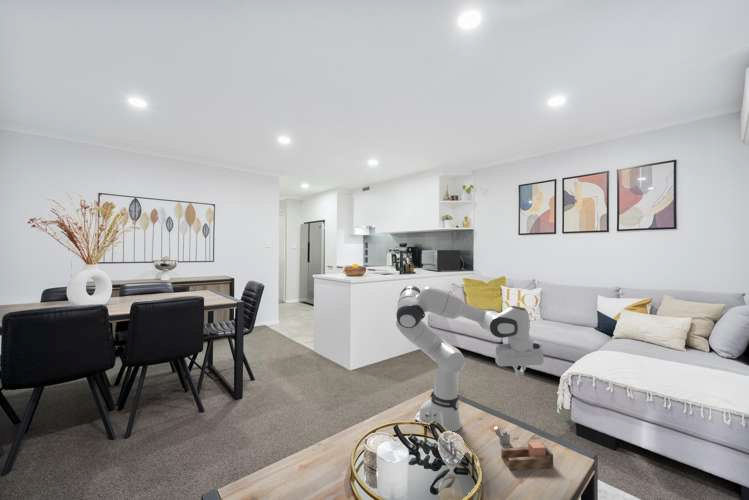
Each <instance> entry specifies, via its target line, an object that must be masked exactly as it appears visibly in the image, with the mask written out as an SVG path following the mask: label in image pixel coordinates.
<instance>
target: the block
mask: <svg viewBox="0 0 749 500" xmlns="http://www.w3.org/2000/svg"><path fill="white" fill-rule="evenodd" d="M527 443H528V444H527V445H528V446H527V447H528V455H529V457H533V456H546V447H547V446H546V445H545V444H544V443H543V442H541V441H534V442H533V441H531V442H527ZM542 443H543V444H544V445H545V446H546V447H545V446H544V445H543V444H542Z"/></svg>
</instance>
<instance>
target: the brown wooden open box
mask: <svg viewBox="0 0 749 500" xmlns="http://www.w3.org/2000/svg"><path fill="white" fill-rule="evenodd" d="M541 443H542V444H543V445H544V446H545V447H546V456H533V457H529V455H528V446H523V447H521V446H520V447H504V448H503V447H502V448H501V449H500V450H501V459H502V461H503V463H504V464H505V466H506V467H507V468H508V470H509V471H511V472H515V471H529V470H532V471H533V470H546V469H547V470H548V469H550V470H551V469H554V453H553V452H551V450H549V448H547V446H546V445H545V444H544V442H541Z"/></svg>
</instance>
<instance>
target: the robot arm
mask: <svg viewBox="0 0 749 500" xmlns="http://www.w3.org/2000/svg"><path fill="white" fill-rule="evenodd" d="M427 312H429V313H433V314H435V315H438V316H440V317H442V318H446V319H449V320H450V319H452V320H456V319H458V318H459V317H462V318H465V319H466V320H467V319H468V320H470V321H473V322H475V323H478V324H479V325H480V327H482V328H483V330H486V331H487V332H489V333H490V334H491V335H493V336H494V337H496V338H500V339H501V338H502V339H503V338H507V343H504V344H502V343H501V344H498V345H496V346H495V359H494V360H495V363H496V364H497V365H498V366H499V367H512V368H513V369H514V374H515V375H516V376H518V377H519V376H524V375H525V370H526V369H527V366H541V365H543V363H545V362H544V360H545V359H544V351H543V350H542V349H543V345H542V344H541V343H540V342H538V341H536V340H534V339H531V335H530V328H531V324H530V323H531V322H530V315H529V311H528V310H527V309H526V308H524V307H521V306H516V305H509V306H508V308H507V309H505V310H503V311H501V312H498V311H497V310H494V309H491V308H490V309H488V308H486V309H483V308H479V307H476V306H473V305H471V304H468V303H466V302H464V300H463V299H462V298H460V297H459V296H457V295H456V294H455V293H452V292H450V291H447V290H444V289H442V288H438V287H433V286H425V287H423V288H422V289H419V287H417V286H415V285H414V286H413V285H408V286H405V287H404V288H403V289H402V290H401V292H400V293H399V297H398V302H397V309H396V313H395V314H396V321H395V326H396V328H397V329H398V331H399V332H400V333H401V334H402V335H403V336H404V337H405V338H406V339H407V340H408V341H410V342H411V343H412V344H413V345H415V346H416V347H417V348H418V349H419V350H421V351H422V352H423V353H424V354H426V355H427V356H428V357H429V358H431V360H432V361H434V362H435V363H436V364H437V365H438V369H437V373H436V375H435V376H434V378H433V382H434V383H433V385H434V386H433V387H434V388H433V390H432V392H431V393H430V394H429V398H430V399H427V400H426V401H424V402H423V403H422V405H421V406H420V409H419V411H418V412H417V413H416V414H415V417H414V421H415V420H417V421H421V422H426V423H430V422H431V421H432V420H436V421H437V422H439V423H440V424H441V425H442V426H443V427H445V428H446V429H447V430H450V431H453V432H457V431H459V430H460V429H461V428H462V425H463V424H462V420H461V417H460V411H459V408H460V407H459V406H460V398H459V394H458V392H459V391H458V389H459V387H458V381H459V375H460V372H461V371H462V370H464V368H465V366H466V358H465V355H463V353H462V352H461V351H460V349H458V348H457V347H455V346H454V345H453V344H450V343H449V342H447V341H446V340H445V339H444V338H442V336H440V335H439V334H438V333H437V332H436V331H435V330H434V329H433V328H432V327H431V326H430V325H428V324H427V323H426V322H425V321H423V319H424V318H425V317H426V313H427ZM519 367H520V369H518V368H519ZM417 421H416V422H417Z"/></svg>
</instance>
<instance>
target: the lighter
mask: <svg viewBox="0 0 749 500" xmlns="http://www.w3.org/2000/svg"><path fill="white" fill-rule="evenodd" d="M493 430H494V432H495V435H496V436H497V437H499V444H500V445H501V446H507V445H510V444H511V439H510V438H511V434H510V432H508V431H507V430H502V431H500V429H499V427H498V426H497V425H496V426H494V427H493Z"/></svg>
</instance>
